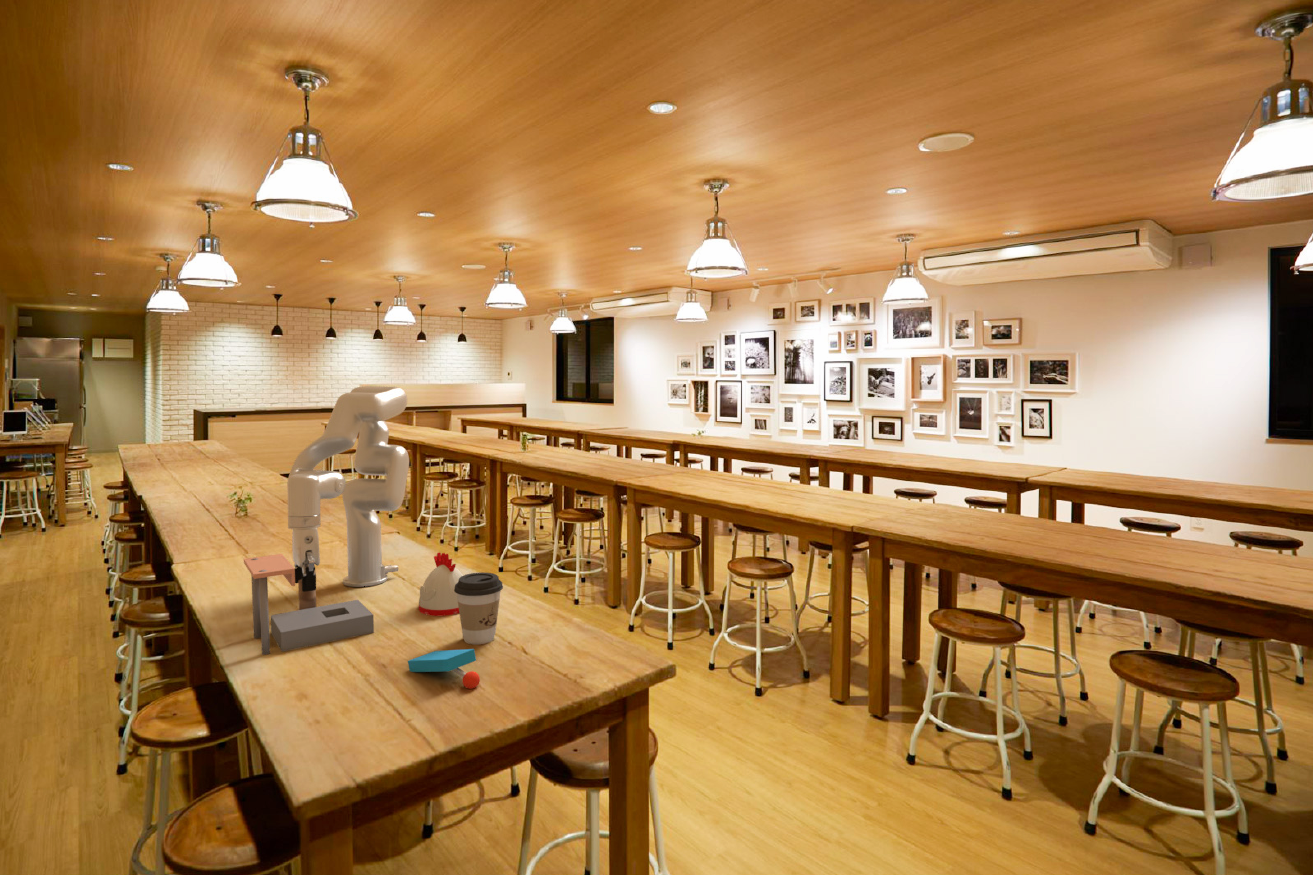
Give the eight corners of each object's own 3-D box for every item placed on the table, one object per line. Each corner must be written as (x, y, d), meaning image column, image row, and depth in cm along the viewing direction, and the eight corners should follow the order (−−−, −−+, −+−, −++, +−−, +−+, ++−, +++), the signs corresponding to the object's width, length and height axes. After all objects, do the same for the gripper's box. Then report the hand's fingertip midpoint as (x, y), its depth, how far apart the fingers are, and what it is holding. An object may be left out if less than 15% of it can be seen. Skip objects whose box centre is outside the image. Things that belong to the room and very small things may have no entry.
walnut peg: (314, 610, 182) (313, 577, 181) (317, 614, 179) (316, 580, 178) (297, 613, 179) (296, 579, 179) (301, 617, 176) (299, 583, 176)
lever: (413, 693, 145) (463, 694, 134) (407, 660, 145) (457, 659, 134) (441, 682, 150) (491, 682, 139) (435, 650, 151) (485, 648, 140)
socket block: (358, 616, 177) (357, 599, 177) (373, 632, 166) (373, 614, 166) (271, 633, 165) (270, 615, 165) (281, 651, 154) (281, 632, 154)
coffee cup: (478, 652, 155) (477, 587, 154) (444, 641, 161) (443, 579, 160) (513, 636, 165) (513, 576, 164) (480, 627, 171) (479, 568, 170)
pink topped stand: (284, 629, 168) (281, 553, 166) (297, 650, 155) (294, 568, 154) (246, 636, 163) (243, 558, 161) (257, 658, 150) (253, 574, 149)
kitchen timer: (450, 596, 195) (449, 544, 194) (482, 605, 187) (482, 552, 186) (408, 609, 184) (407, 554, 183) (440, 619, 176) (439, 563, 175)
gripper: (327, 525, 172) (328, 591, 173) (312, 515, 186) (313, 577, 187) (294, 528, 168) (295, 596, 169) (282, 518, 181) (282, 581, 182)
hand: (305, 586), depth 178 cm, fingers open, 9 cm apart
